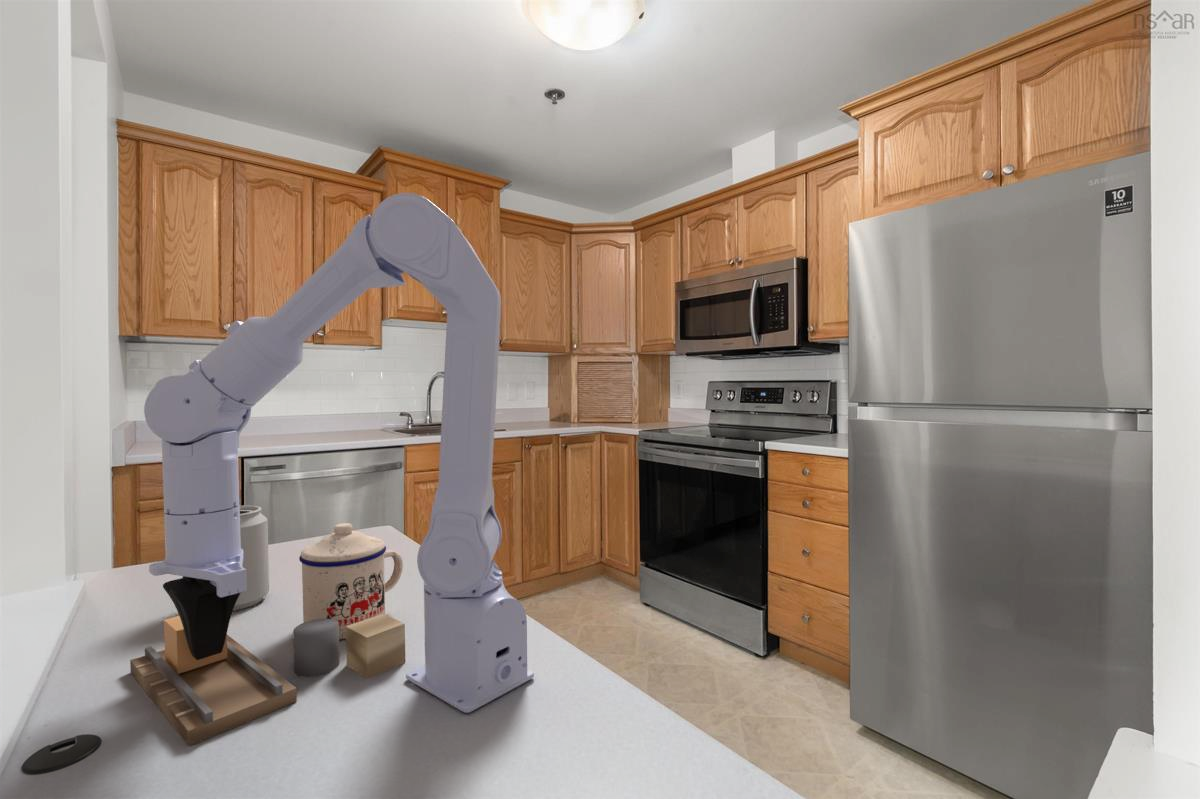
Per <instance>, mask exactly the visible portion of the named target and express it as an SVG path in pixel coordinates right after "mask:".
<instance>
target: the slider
mask: <svg viewBox="0 0 1200 799" xmlns="http://www.w3.org/2000/svg"><path fill="white" fill-rule="evenodd" d="M163 632H164V633H163V636H164V650H165V661H166V662H167V663H168V664H169V665H170V666H171V667H172V669H173V670H174V671H175V672H176V673H177V674H180V673H183V672H186V671H189V670H192V669H195V668H198V667H201V666H204V665H207V664H210V663H213V662H217V661H220V660H223V659H226V658H227V635H228V634H227V635H226V639H225V643H224V647H223V650H222V652H221V653H219V654H215V655H212V656H209V657H206V658H203V659H200V660H196V659H195V658H194V657H193V656H192V654H191V652H190V649H189V646H188V643H187V639H186V636H185V632H184V628H183V625H182V622H181V619H180V616H179V615H177V616H173V617H170V618H165V619H163Z"/></svg>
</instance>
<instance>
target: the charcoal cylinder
mask: <svg viewBox="0 0 1200 799" xmlns="http://www.w3.org/2000/svg"><path fill="white" fill-rule="evenodd" d="M292 635H293V636H292V638H293V641H292V643H293V644H292V645H293V672H294V675H296V676H298V677H300V678H301V677H302V678H314V677H320V676H323V675H325V674H328V673H331V672H332V671H334V670H335V669H336V668H338V667H339V665H340V639H339V627H338V621H336V620H334V619H317V620H312V621H308V622H305V623H300V624H299V625H296V627H294V629H293V630H292Z"/></svg>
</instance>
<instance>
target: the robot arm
mask: <svg viewBox="0 0 1200 799" xmlns="http://www.w3.org/2000/svg"><path fill="white" fill-rule="evenodd" d="M402 274H407V275H408V276H409V277H411V278H412V279H414V280H415V281H417V282H418V283H420V284H421V285H422V286H423V287H424V288H425V289H426V290H427V291H428V292H429V293H430V294H431V295H432V296H433V297H434V298H435V299H436V301H438V302H439V303H440V304H441V305H442V307H444V309H445V311H446V331H445V346H444V347H445V348H444V369H443V387H442V389H443V390H442V405H441V406H442V407H441V408H442V409H441V424H440V425H441V426H440V428H441V429H440V442H439V443H440V446H439V447H440V449H439V462H438V464H439V465H438V466H439V468H438V483H437V489H436V492H435V495H434V496H435V497H434V499H433V502H432V507H431V510H430V522H429V527H428V531H427V534H426V535H425V537H424V538H423V540H422V542H421V543H420V546H419V548H418V552H417V557H416V558H417V560H416V561H417V562H416V563H417V569H418V572H419V575H420V577H421V579H422V581H423V611H424V613H423V614H424V615H423V617H424V664H423V665H421V666H419V667H417V668H414V669H411V670H409V671H407V673H406V674H405V679H406V680H408V681H409V682H410V683H411V682H412V683H413V684H414V685H417V686H418V687H420V688H421V689H423V690H425V691H426V692H428V693H430V694H432V695H434V696H435V697H437V698H439V699H440V700H442V701H444V702H446V703H447V704H448V705H451V706H452V707H454V708H456V709H458V710H459V711H461V712H462V713H466V714H467V713H472V712H474V711H475V710H477V709H479V708H480V707H482V706H485V705H486V704H488V703H489V702H492V701H493V700H496V699H497V698H499V697H501V696H503V695H504V694H506V693H508V692H510V691H512V690H513V689H515V688H517V687H520V686H521V685H523V684H524V683H526V682H528V681H530V680H532V679H533V678H534V677H535V672H534V671H533V670H532V669H529V668H528V627H527V626H528V620H527V612H526V609H525V607H524V606H523V604H522V602H521V601H519V600H518V599H517V598H515V597H514V596H513V595H511V594H510V593H509V591H507V589H506V587H505V585H504V582H503V571H501V570H500V567H499V566H498V565H497V563H496V561H495V560H493V558H494V556H495V554H496V552H497V551H498V550H499V547H500V546H501V542H502V537H503V531H502V530H503V529H502V525H501V523H500V520H499V518H498V516H497V513H496V511H495V489H494V485H493V480H492V479H493V464H494V463H493V461H494V445H495V444H494V443H495V427H496V426H495V425H496V408H497V393H498V392H497V388H498V371H499V370H498V369H499V355H500V354H499V352H500V336H501V334H500V333H501V332H500V331H501V313H502V296H501V293H500V291H499V289H498V287H497V286H496V284H495V283H494V281H493V279H492V278H491V275H490V274H489V273H488V271H487V269H486V267H485V266H484V263H482V261H481V260H480V258H479V256H478V254H477V253H476V251H475V250H474V248H473V246H472V244H471V243H470V242H469V241H468V239H467V238H466V236H464V234H463V233H462V231H461V229H460V228H459V227H458V225H457V224H456V222H455V221H454V220H453V219H452V218H451V217H449V215H447V214H446V213H445V212H444V211H443V210H441V209H440V208H439V207H438V206H437V205H436V204H435V203H433V202H431V201H430V200H429V199H428V198H426V197H425V196H423V195H421V194H420V195H419V194H416V193H412V192H400V193H395V194H392V195H390V196H388V197H387V198H385V199H383V200H382V201H381V202H380V203H379V204H378V205H377V207H376V208H375V209H374V211H373V213H372V215H370V214H367V215H366V216H363V217H362V218H360V219H359V220H358V221H356V223H355V224H354V226H353V227H352V229H351V230H350V232H349V233H348V235H347V237H346V238H345V240H344V241H343V243H342V244H341V245H340V246H339V247H337V249H336V250H335V251H334V252H333V253H332V254H331V255H330V256H329V257H328V258H327V259H326V261H324V262H323V264H322V265H321V266H320V267H318V268H317V270H316V271H315V272H313V273H312V275H311V276H310V277H309V278H308V279H306V281H305V282H304V283H303V284H302V285H300V287H299V288H298V289H296V291H295V292H294V293H293V294H292V295H291V296H290V297H289V298H288V299H287V300H286V301H285V302H284V303H283V304H282V305H281V307H280V308H279V309H277V310H276V312H275V313H273V314H272V315H271V316H269V317H267V316H266V317H265V316H250V317H248V318H247V319H246V320H244V321H240V320H235V321H233V322H232V323H231V324H230V325H229V326H228V327H226V332H227V333H228V336H227V337H226V338H224V339H223V340H222V341H221V342H220V343H219V344H217V346H216V347H215V348H213V350H211V351H210V352H209V353H208V354H207V355H206V356H205V357H203V358H202V359H195V360H194V361H193V362H191V363H190V364H189V366H188V369H189V371H188V372H187V373H186V374H182V375H179V374H178V375H177V374H176V375H171V376H170V375H169V376H166V377H163V378H161V379H159V380H158V381H157V382H156V383H155V385H154V387H153V388H152V389H150V391H149V393H148V395H147V397H146V399H145V403H144V407H143V409H144V410H143V413H144V419H145V421H146V424H147V426H148V427H149V429H150V430H151V431H152V433H153V434H155V436H157V437H158V438H159V439H161V461H162V462H161V463H162V486H163V488H162V491H163V514H164V515H163V516H164V518H163V519H164V520H163V521H164V550H165V554H164V555H165V558H164V560H162V561H159V562H154V563H150V564H149V565H148V572H149V573H150V574H151V575H152V576H154V577H158V576H164V575H173V576H179V577H181V578H176V579H172V580H169V581H166V582H164V583H163V584H162V588H163V590H164V591H165V592H166V594H167V595H168V596H169V598H170V599H171V601H172V603H173V604H174V606H175V608H176V611H177V613H178V616H180V619H181V622H182V625H183V628H184V632H185V636H186V639H187V643H188V646H189V649H190V652H191V654H192V656H193V657H194V658H195V659H196V660H200V659H203V658H206V657H209V656H212V655H215V654H219V653H221V652H222V650H223V647H224V643H225V639H226V635H228V629H229V627H230V626H229V625H230V621H231V618H232V614H233V608H234V606H235V603H236V601H237V599H238V597H239V595H240V593H241V592H245V591H246V590H247V589H246V569H245V568H243V558H244V556H243V550H242V549H241V537H240V506H241V505H240V479H239V478H240V476H239V475H240V474H239V448H240V435H241V433H242V431H243V430H244V428H245V427H246V426H247V424H248V422H249V421H250V417H251V413H252V408H253V407H254V406H255V405H257V403H259V402H260V401H261V400H262V399H263V398H264V397H265V396H266V395H267V394H268V393H269V392H271V391H272V390H273V389H274V388H275V387H276V386H277V385H278V384H280V382H282V380H284V379H285V378H286V377H287V376H288V375H289V374H291V373H292V372H293V371H294V370H295V369H297V367H298V366H299V365H300V364H302V362H303V349H304V348H303V347H304V346H303V345H304V342H305V341H306V340H308V338H310V337H311V336H312V335H314V334H315V333H316V332H318V331H319V330H320V329H322V327H323V326H325V325H326V324H327V323H329V322H330V321H331V320H332V319H334V318H335V317H336V316H337V315H338V314H339V313H341V312H342V311H343V310H344V309H345V308H347V307H348V306H350V305H351V304H352V303H353V302H355V300H356V299H358V298H359V297H361V295H363V294H364V293H365V292H366V291H369V290H370V289H380V288H389V287H392V288H393V287H403V286H405V285H406V281H405V280H404V277H403V276H402Z"/></svg>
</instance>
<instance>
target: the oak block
mask: <svg viewBox="0 0 1200 799" xmlns="http://www.w3.org/2000/svg"><path fill="white" fill-rule="evenodd" d="M405 624H406V623H404V622H402V621H400V620H397V619H395V618H394V617H391V616H389V615H387V614H386V613H385V614H381V615H378V616H375V617H372V618H369V619H366V620H363V621H360V622H357V623H355V624H352V625H349V626H346V639H345V645H346V647H345V648H346V651H345V653H346V655H345V657H346V667H349V668H350V669H352V670H353V671H355V672H357V673H358V674H360V675H361V676H363V677H364V678H366V679H370V678H372V677H375V676H377V675H379V674H382V673H383V672H386V671H388V670H391V669H393V668H395V667H398V666H401V665H403V664H405V663H406V626H405Z"/></svg>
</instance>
